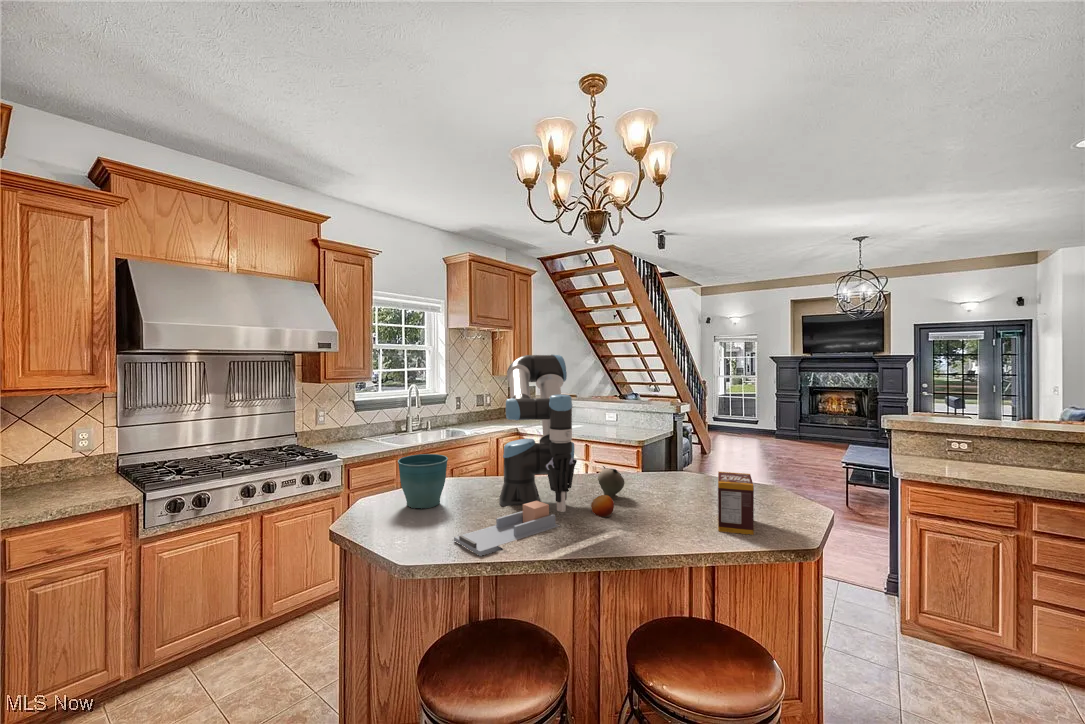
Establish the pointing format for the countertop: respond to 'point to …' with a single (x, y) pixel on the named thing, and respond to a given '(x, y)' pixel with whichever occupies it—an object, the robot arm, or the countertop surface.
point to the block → (534, 511)
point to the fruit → (602, 506)
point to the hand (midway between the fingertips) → (561, 510)
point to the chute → (504, 532)
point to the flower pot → (423, 479)
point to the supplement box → (735, 503)
